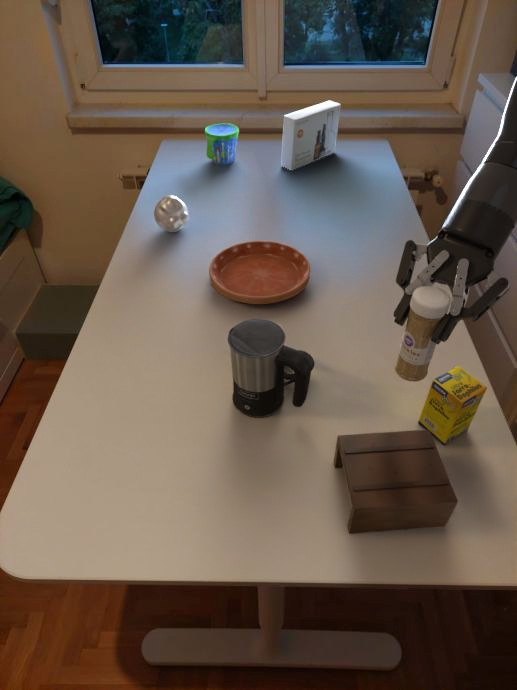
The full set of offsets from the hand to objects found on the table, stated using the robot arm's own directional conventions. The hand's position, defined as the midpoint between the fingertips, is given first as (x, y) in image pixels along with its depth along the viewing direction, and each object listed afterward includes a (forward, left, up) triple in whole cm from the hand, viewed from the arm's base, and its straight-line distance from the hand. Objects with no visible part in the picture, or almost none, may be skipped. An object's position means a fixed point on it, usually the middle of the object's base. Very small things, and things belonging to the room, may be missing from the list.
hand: (416, 332), depth 64 cm
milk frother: (+16, -16, -26) cm, 35 cm away
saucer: (+16, -49, -26) cm, 57 cm away
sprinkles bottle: (-1, -1, -9) cm, 9 cm away
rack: (+1, +7, -26) cm, 27 cm away
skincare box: (-5, -114, -26) cm, 117 cm away
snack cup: (+23, -116, -26) cm, 121 cm away
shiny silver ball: (+37, -73, -26) cm, 86 cm away
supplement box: (-11, -4, -26) cm, 29 cm away
